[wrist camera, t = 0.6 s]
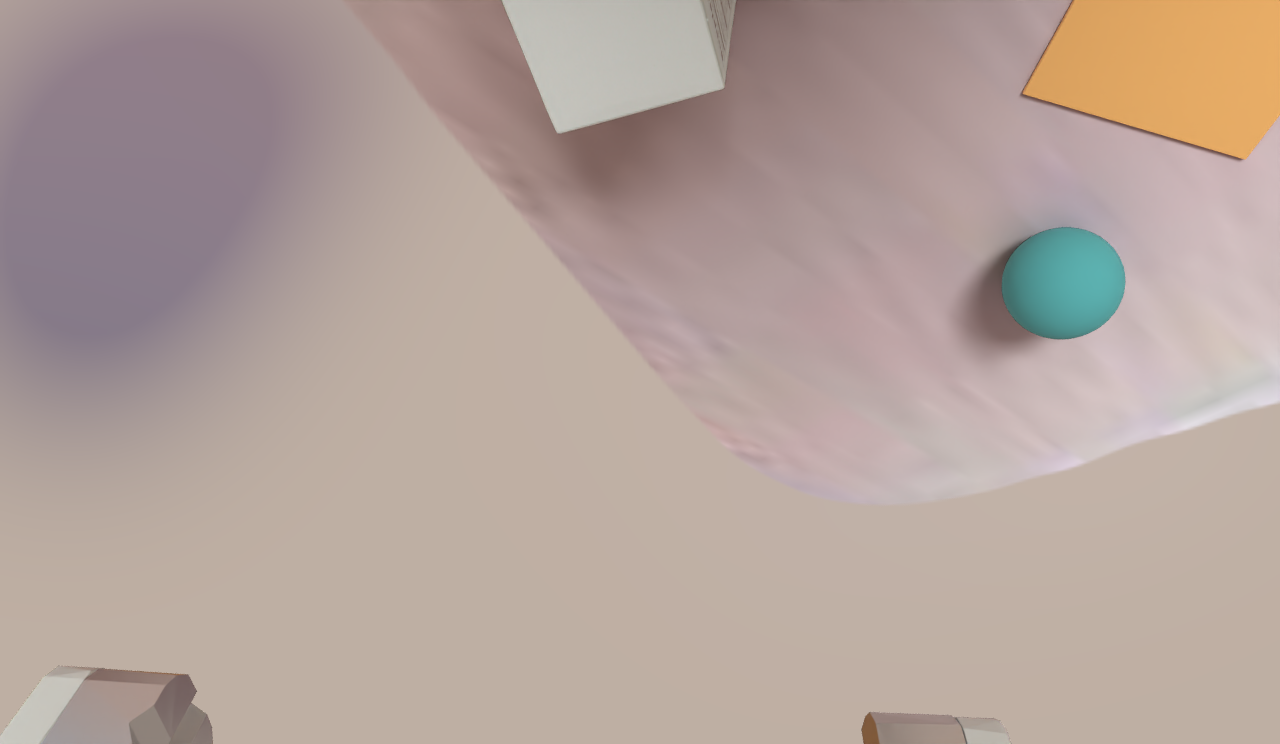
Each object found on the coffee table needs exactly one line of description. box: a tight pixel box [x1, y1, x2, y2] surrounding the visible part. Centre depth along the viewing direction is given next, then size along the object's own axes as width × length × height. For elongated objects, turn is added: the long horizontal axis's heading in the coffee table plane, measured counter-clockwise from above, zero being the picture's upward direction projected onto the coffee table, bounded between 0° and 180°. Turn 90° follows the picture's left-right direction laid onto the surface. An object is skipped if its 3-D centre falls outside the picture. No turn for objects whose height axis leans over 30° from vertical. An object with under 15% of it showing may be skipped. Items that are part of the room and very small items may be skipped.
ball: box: [1002, 227, 1125, 339], centre depth 47 cm, size 6×6×6 cm
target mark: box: [1022, 0, 1280, 160], centre depth 40 cm, size 12×12×1 cm
